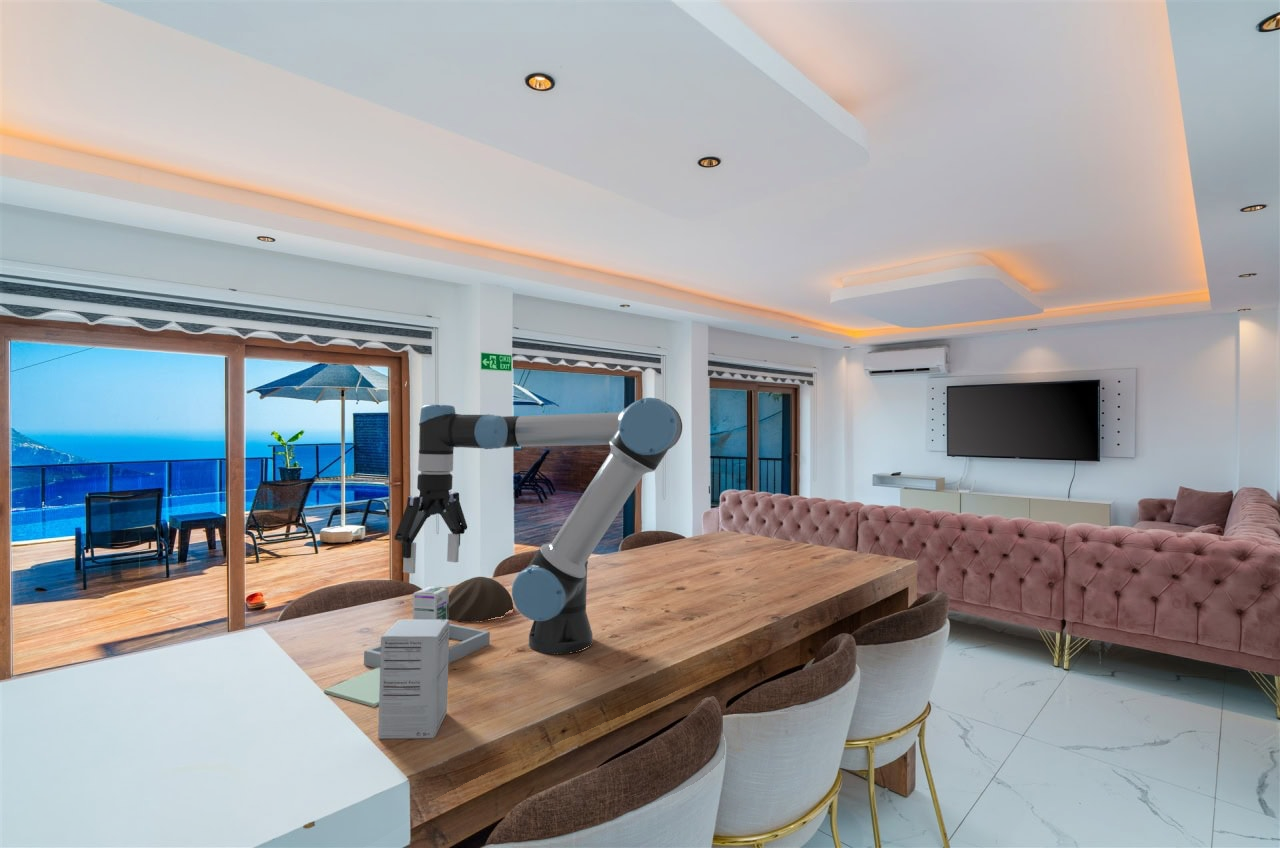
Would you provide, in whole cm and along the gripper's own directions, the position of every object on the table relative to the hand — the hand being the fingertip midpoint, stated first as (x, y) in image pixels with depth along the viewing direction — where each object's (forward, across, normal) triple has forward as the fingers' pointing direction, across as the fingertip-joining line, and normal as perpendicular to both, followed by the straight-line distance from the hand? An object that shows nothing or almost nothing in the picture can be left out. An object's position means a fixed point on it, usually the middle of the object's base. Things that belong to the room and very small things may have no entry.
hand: (431, 567), depth 139 cm
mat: (+20, +18, +4) cm, 27 cm away
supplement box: (+20, +27, +22) cm, 40 cm away
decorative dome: (+20, -31, -12) cm, 39 cm away
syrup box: (+20, 0, 0) cm, 20 cm away
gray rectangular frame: (+20, 0, 0) cm, 20 cm away
